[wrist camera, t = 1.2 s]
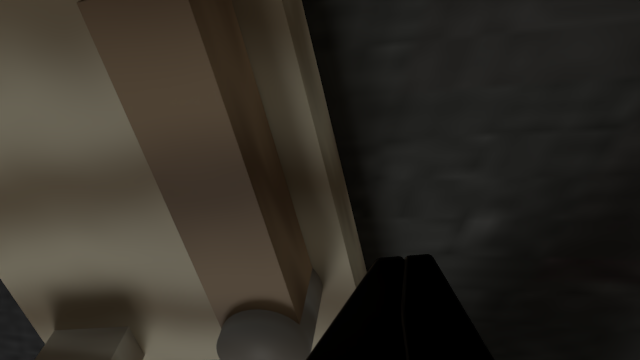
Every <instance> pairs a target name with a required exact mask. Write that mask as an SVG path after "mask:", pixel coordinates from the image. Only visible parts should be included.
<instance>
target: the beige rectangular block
mask: <svg viewBox="0 0 640 360" xmlns="http://www.w3.org/2000/svg"><path fill="white" fill-rule="evenodd" d="M78 1H80V0H0V279H1V280H2V281H3V283H4V284H5V286H6V287H7V289H8V290H9V292H10V293H11V295H12V296H13V298H14V299H15V300H16V302H17V303H18V305H19V306H20V308H21V309H22V311H23V312H24V314H25V315H26V316H27V318H28V319H29V321H30V322H31V324H32V325H33V327H34V328H35V330H36V331H37V333H38V334H39V335H40V337H41V338H42V340H43V341H44V343H45V345H44V347H43V348H42V350H41V351H40V353H39V354H38V356H37V357H36V359H35V360H220V358H219V357H218V354H217V349H216V344H217V340H218V337H219V335H220V332H221V327H220V325H219V322H218V320H217V318H216V316H215V313H214V311H213V309H212V307H211V304H210V302H209V300H208V298H207V295H206V293H205V291H204V289H203V286H202V284H201V282H200V280H199V277H198V275H197V273H196V271H195V268H194V266H193V264H192V262H191V259H190V257H189V255H188V253H187V250H186V248H185V246H184V244H183V241H182V239H181V237H180V235H179V232H178V230H177V228H176V226H175V223H174V221H173V219H172V217H171V214H170V212H169V210H168V208H167V205H166V203H165V201H164V199H163V196H162V194H161V192H160V190H159V187H158V185H157V183H156V181H155V178H154V176H153V174H152V172H151V169H150V167H149V165H148V163H147V160H146V158H145V156H144V154H143V152H142V149H141V147H140V145H139V143H138V140H137V138H136V136H135V134H134V131H133V129H132V127H131V125H130V122H129V120H128V118H127V116H126V113H125V111H124V109H123V107H122V104H121V102H120V100H119V98H118V95H117V93H116V91H115V89H114V86H113V84H112V82H111V80H110V77H109V75H108V73H107V71H106V68H105V66H104V64H103V62H102V59H101V57H100V55H99V53H98V50H97V48H96V46H95V44H94V41H93V39H92V37H91V35H90V32H89V30H88V28H87V26H86V23H85V21H84V19H83V17H82V14H81V12H80V10H79V8H78V5H77V3H76V2H78ZM231 1H232V5H233V8H234V11H235V15H236V18H237V21H238V24H239V28H240V31H241V34H242V38H243V41H244V44H245V48H246V51H247V54H248V57H249V61H250V64H251V67H252V71H253V74H254V77H255V80H256V84H257V87H258V90H259V94H260V97H261V100H262V103H263V107H264V110H265V113H266V117H267V120H268V123H269V127H270V130H271V133H272V136H273V140H274V143H275V146H276V150H277V153H278V156H279V159H280V163H281V166H282V169H283V173H284V176H285V179H286V182H287V186H288V189H289V192H290V196H291V199H292V202H293V206H294V209H295V212H296V215H297V219H298V222H299V225H300V229H301V232H302V235H303V238H304V242H305V245H306V248H307V252H308V255H309V258H310V262H311V265H312V268H313V269H314V270H315V271H316V272H317V274H318V275H319V277H320V279H321V282H322V286H323V291H322V297H321V302H320V308H319V313H318V318H317V323H316V329H315V334H314V339H313V344H312V350H313V349H314V347H315V346H316V344H317V343H318V341H319V340H320V339H321V337H322V336H323V334H324V333H325V332H326V330H327V329H328V327H329V326H330V324H331V323H332V322H333V320H334V319H335V317H336V316H337V314H338V313H339V312H340V310H341V309H342V307H343V306H344V304H345V303H346V302H347V300H348V299H349V297H350V296H351V294H352V293H353V292H354V290H355V289H356V287H357V286H358V285H359V283H360V282H361V280H362V279H363V277H364V276H365V275H366V273H367V271H366V267H365V262H364V258H363V254H362V250H361V246H360V242H359V237H358V233H357V229H356V225H355V221H354V217H353V212H352V208H351V204H350V200H349V196H348V192H347V187H346V183H345V179H344V175H343V171H342V167H341V162H340V158H339V154H338V150H337V146H336V141H335V137H334V133H333V129H332V125H331V121H330V116H329V112H328V108H327V104H326V100H325V96H324V91H323V87H322V83H321V79H320V75H319V71H318V66H317V62H316V58H315V54H314V50H313V46H312V41H311V37H310V33H309V29H308V25H307V21H306V16H305V12H304V8H303V4H302V0H231ZM312 350H311V351H312Z"/></svg>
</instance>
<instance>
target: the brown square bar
mask: <svg viewBox="0 0 640 360" xmlns="http://www.w3.org/2000/svg"><path fill="white" fill-rule="evenodd" d="M76 3H77V5H78V8H79V10H80V12H81V14H82V17H83V19H84V21H85V23H86V26H87V28H88V30H89V32H90V35H91V37H92V39H93V41H94V44H95V46H96V48H97V50H98V53H99V55H100V57H101V59H102V62H103V64H104V66H105V68H106V71H107V73H108V75H109V77H110V80H111V82H112V84H113V86H114V89H115V91H116V93H117V95H118V98H119V100H120V102H121V104H122V107H123V109H124V111H125V113H126V116H127V118H128V120H129V122H130V125H131V127H132V129H133V131H134V134H135V136H136V138H137V140H138V143H139V145H140V147H141V149H142V152H143V154H144V156H145V158H146V160H147V163H148V165H149V167H150V169H151V172H152V174H153V176H154V178H155V181H156V183H157V185H158V187H159V190H160V192H161V194H162V196H163V199H164V201H165V203H166V205H167V208H168V210H169V212H170V214H171V217H172V219H173V221H174V223H175V226H176V228H177V230H178V232H179V235H180V237H181V239H182V241H183V244H184V246H185V248H186V250H187V253H188V255H189V257H190V259H191V262H192V264H193V266H194V268H195V271H196V273H197V275H198V277H199V280H200V282H201V284H202V286H203V289H204V291H205V293H206V295H207V298H208V300H209V302H210V304H211V307H212V309H213V311H214V313H215V316H216V318H217V320H218V322H219V325H220V327H221V332H220V335H219V337H218V340H217V344H216V349H217V354H218V357H219V358H220V360H306V359H307V357H308V356H309V354H310V353H311V350H312V344H313V339H314V334H315V329H316V323H317V318H318V313H319V308H320V302H321V297H322V291H323V286H322V282H321V279H320V277H319V275H318V274H317V272H316V271H315V270H314V269H313V268H312V265H311V262H310V258H309V255H308V252H307V248H306V245H305V242H304V238H303V235H302V232H301V229H300V225H299V222H298V219H297V215H296V212H295V209H294V206H293V202H292V199H291V196H290V192H289V189H288V186H287V182H286V179H285V176H284V173H283V169H282V166H281V163H280V159H279V156H278V153H277V150H276V146H275V143H274V140H273V136H272V133H271V130H270V127H269V123H268V120H267V117H266V113H265V110H264V107H263V103H262V100H261V97H260V94H259V90H258V87H257V84H256V80H255V77H254V74H253V71H252V67H251V64H250V61H249V57H248V54H247V51H246V48H245V44H244V41H243V38H242V34H241V31H240V28H239V24H238V21H237V18H236V15H235V11H234V8H233V5H232V1H231V0H80V1H78V2H76Z"/></svg>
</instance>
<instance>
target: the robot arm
mask: <svg viewBox="0 0 640 360" xmlns="http://www.w3.org/2000/svg"><path fill="white" fill-rule="evenodd" d="M306 360H494V359H493V357H492V355H491V354H490V352H489V350H488V349H487V347H486V345H485V344H484V342H483V340H482V338H481V337H480V335H479V333H478V332H477V330H476V328H475V327H474V325H473V323H472V322H471V320H470V318H469V317H468V315H467V313H466V312H465V310H464V308H463V306H462V305H461V303H460V301H459V300H458V298H457V296H456V295H455V293H454V291H453V290H452V288H451V286H450V285H449V283H448V281H447V280H446V278H445V276H444V275H443V273H442V271H441V269H440V268H439V266H438V264H437V263H436V261H435V259H434V258H433V257H432V256H431V255H429V254H423V255H410V256H407V257H406V258H405V259H403V258H402V257H400V256H397V257H384V258H378V259H377V260H376V261H375V262H374V263H373V265H372V266H371V267H370V269H369V270H368V272H367V273H366V275H365V276H364V277H363V279H362V280H361V282H360V283H359V285H358V286H357V287H356V289H355V290H354V292H353V293H352V294H351V296H350V297H349V299H348V300H347V302H346V303H345V304H344V306H343V307H342V309H341V310H340V312H339V313H338V314H337V316H336V317H335V319H334V320H333V322H332V323H331V324H330V326H329V327H328V329H327V330H326V332H325V333H324V334H323V336H322V337H321V339H320V340H319V341H318V343H317V344H316V346H315V347H314V349H313V350H312V351H311V353H310V354H309V356H308V357H307V359H306Z"/></svg>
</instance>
